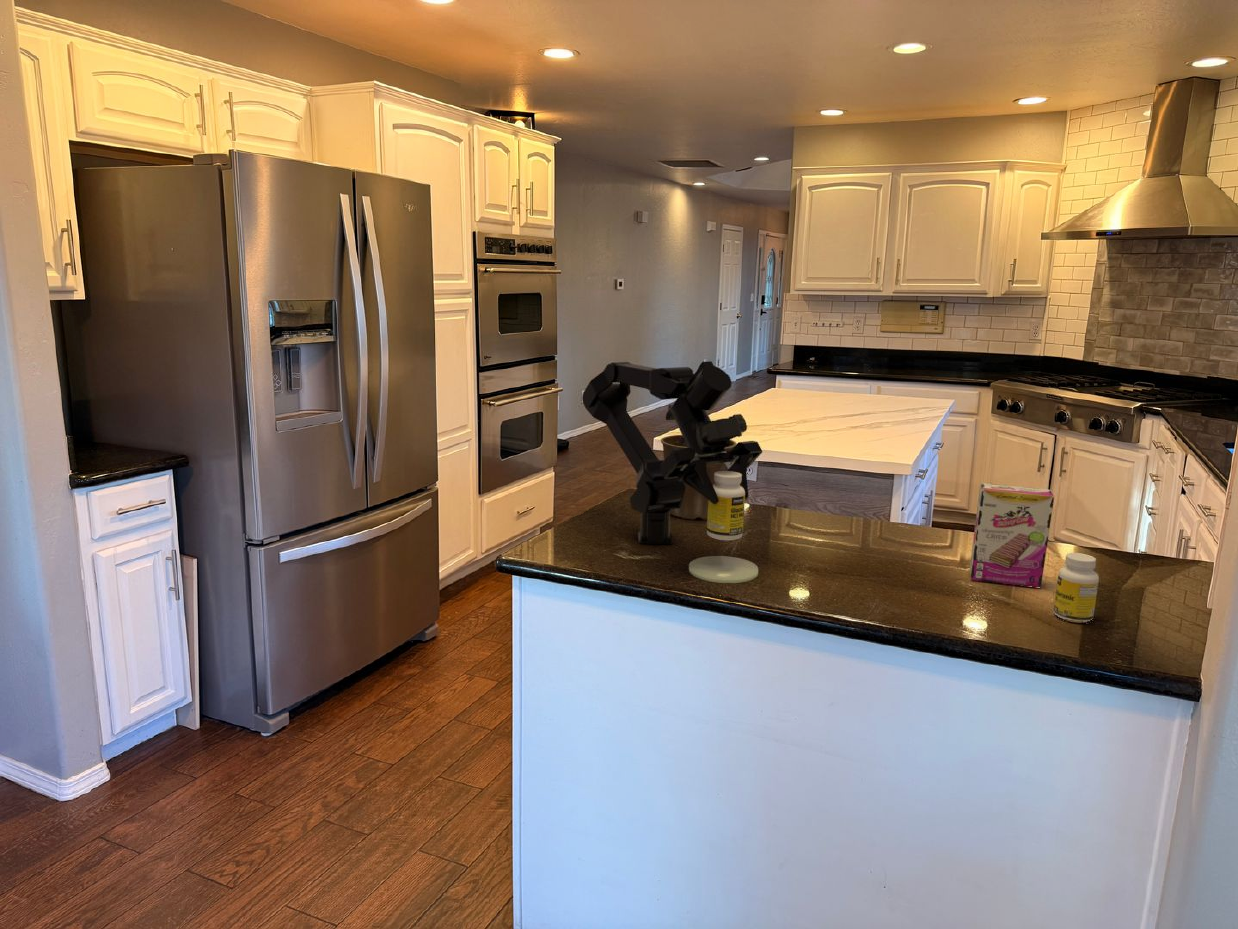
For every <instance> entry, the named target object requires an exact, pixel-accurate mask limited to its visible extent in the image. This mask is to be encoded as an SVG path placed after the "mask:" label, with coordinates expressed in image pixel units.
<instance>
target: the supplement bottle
mask: <svg viewBox="0 0 1238 929" xmlns="http://www.w3.org/2000/svg"><path fill="white" fill-rule="evenodd" d="M1096 562H1097V558H1096V557H1094V556H1092V555H1089V554H1086V553H1081V552H1080V553H1079V552H1069V553H1067V554H1066V555H1065V561H1064V564H1065V566H1063V567H1061V568H1060V569H1059V570H1058V574H1057V581H1056V582H1057V584H1056V589H1055V596H1054V604H1053V614H1054V613H1055V615H1057V616H1058V617H1060V618H1063V619H1068V620H1074V621H1083V622H1087V621H1090V620H1092V619H1093V620H1094V616H1095V610H1096V603H1097V594H1098V589H1099V587H1098V586H1099V581H1100V580H1099V579H1100V577H1099V574H1098V573H1097V572H1095V571H1094V569H1095V568H1096V564H1097V563H1096ZM1055 615H1054V616H1055ZM1093 620H1092V621H1093Z"/></svg>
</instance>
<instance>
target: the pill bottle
mask: <svg viewBox="0 0 1238 929" xmlns="http://www.w3.org/2000/svg"><path fill="white" fill-rule="evenodd" d="M741 481H742V475H741V474H740V473H738V472H733V471H718V472H715V473H714V482H715V484H714V485H713V487H714V489H715V492H716V494H717V497H718V500H719V501H718V503H717V504H713V503H712V502H710V501H709V500H708V518H707V519H706V534H707V536H709V537H710V538H713V539H714V540H715V539H716V540H720V541H735V540H739V539H740V538H742V536H743V532H744V518H745V516H744V515H745V501H746V500H745V490H744V488H743V487H741V486H740V483H741Z"/></svg>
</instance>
